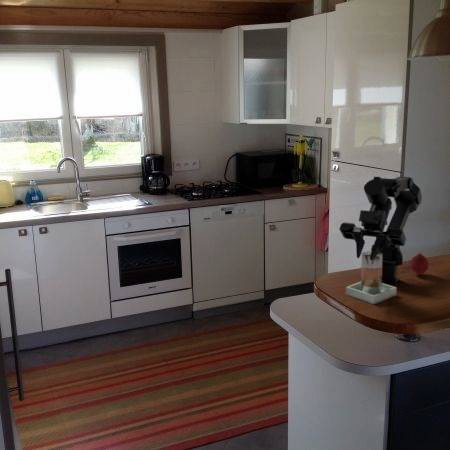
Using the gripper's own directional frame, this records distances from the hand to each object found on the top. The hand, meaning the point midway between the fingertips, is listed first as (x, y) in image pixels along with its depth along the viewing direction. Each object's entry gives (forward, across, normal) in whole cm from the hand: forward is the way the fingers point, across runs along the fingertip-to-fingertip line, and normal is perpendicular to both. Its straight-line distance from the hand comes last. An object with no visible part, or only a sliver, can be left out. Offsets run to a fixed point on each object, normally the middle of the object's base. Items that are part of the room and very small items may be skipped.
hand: (364, 258), depth 158 cm
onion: (-12, +7, +32) cm, 35 cm away
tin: (+4, 0, +14) cm, 15 cm away
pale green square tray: (+5, 0, +14) cm, 15 cm away
